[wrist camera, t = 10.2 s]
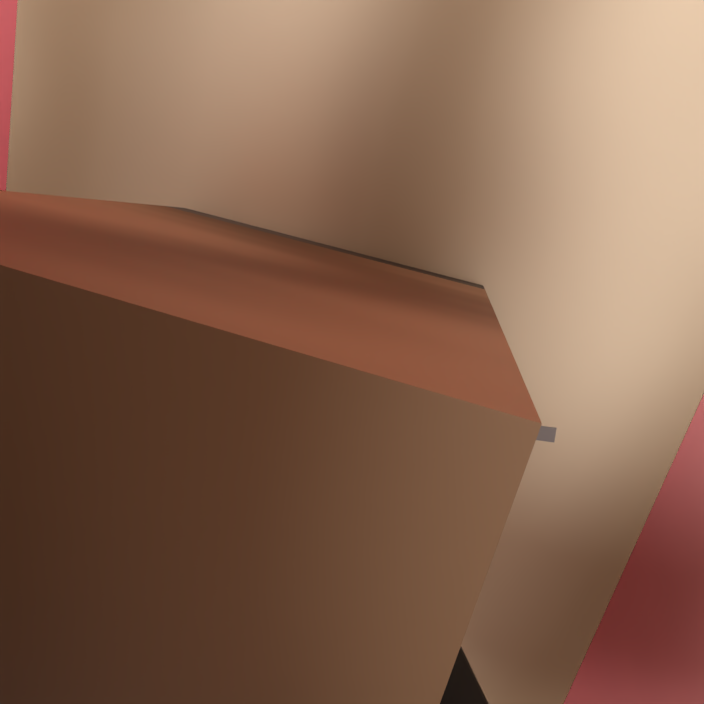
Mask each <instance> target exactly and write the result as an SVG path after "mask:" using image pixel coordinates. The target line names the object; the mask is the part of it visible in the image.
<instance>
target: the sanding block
mask: <svg viewBox="0 0 704 704" xmlns="http://www.w3.org/2000/svg"><path fill="white" fill-rule="evenodd" d="M541 425H542V423H541V420H540V418H539V416H538V413H537V411H536V408H535V406H534V404H533V401H532V399H531V397H530V394H529V392H528V390H527V387H526V385H525V383H524V380H523V378H522V375H521V373H520V371H519V368H518V366H517V364H516V361H515V359H514V357H513V354H512V352H511V350H510V347H509V345H508V342H507V340H506V338H505V335H504V333H503V331H502V328H501V326H500V324H499V321H498V319H497V317H496V314H495V312H494V310H493V307H492V305H491V302H490V300H489V298H488V295H487V293H486V291H485V288H484V286H483V285H480V284H476V283H472V282H468V281H464V280H460V279H457V278H453V277H449V276H445V275H441V274H437V273H433V272H430V271H426V270H422V269H418V268H414V267H410V266H407V265H403V264H399V263H395V262H391V261H387V260H383V259H380V258H376V257H372V256H368V255H364V254H360V253H356V252H353V251H349V250H345V249H341V248H337V247H333V246H330V245H326V244H322V243H318V242H314V241H310V240H306V239H303V238H299V237H295V236H291V235H287V234H283V233H280V232H276V231H272V230H268V229H264V228H260V227H256V226H253V225H249V224H245V223H241V222H237V221H233V220H229V219H226V218H222V217H218V216H214V215H210V214H206V213H203V212H199V211H195V210H191V209H187V208H181V207H170V206H160V205H149V204H139V203H128V202H118V201H107V200H97V199H86V198H75V197H65V196H54V195H44V194H33V193H23V192H12V191H2V190H0V704H440V702H441V699H442V696H443V694H444V691H445V688H446V685H447V683H448V680H449V677H450V674H451V672H452V669H453V666H454V663H455V661H456V658H457V655H458V652H459V650H460V647H461V644H462V641H463V639H464V636H465V633H466V630H467V628H468V625H469V622H470V619H471V617H472V614H473V611H474V609H475V606H476V603H477V600H478V598H479V595H480V592H481V589H482V587H483V584H484V581H485V578H486V576H487V573H488V570H489V567H490V565H491V562H492V559H493V556H494V554H495V551H496V548H497V545H498V543H499V540H500V537H501V534H502V532H503V529H504V526H505V523H506V521H507V518H508V515H509V512H510V510H511V507H512V504H513V501H514V499H515V496H516V493H517V490H518V488H519V485H520V482H521V480H522V477H523V474H524V471H525V469H526V466H527V463H528V460H529V458H530V455H531V452H532V449H533V447H534V444H535V441H536V438H537V436H538V433H539V430H540V427H541Z"/></svg>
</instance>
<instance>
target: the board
mask: <svg viewBox="0 0 704 704" xmlns="http://www.w3.org/2000/svg"><path fill="white" fill-rule="evenodd" d="M6 191H12V192H23V193H33V194H44V195H54V196H65V197H75V198H86V199H97V200H107V201H118V202H128V203H139V204H149V205H160V206H170V207H181V208H187V209H191V210H195V211H199V212H203V213H206V214H210V215H214V216H218V217H222V218H226V219H229V220H233V221H237V222H241V223H245V224H249V225H253V226H256V227H260V228H264V229H268V230H272V231H276V232H280V233H283V234H287V235H291V236H295V237H299V238H303V239H306V240H310V241H314V242H318V243H322V244H326V245H330V246H333V247H337V248H341V249H345V250H349V251H353V252H356V253H360V254H364V255H368V256H372V257H376V258H380V259H383V260H387V261H391V262H395V263H399V264H403V265H407V266H410V267H414V268H418V269H422V270H426V271H430V272H433V273H437V274H441V275H445V276H449V277H453V278H457V279H460V280H464V281H468V282H472V283H476V284H480V285H483V286H484V288H485V291H486V293H487V295H488V298H489V300H490V302H491V305H492V307H493V310H494V312H495V314H496V317H497V319H498V321H499V324H500V326H501V328H502V331H503V333H504V335H505V338H506V340H507V342H508V345H509V347H510V350H511V352H512V354H513V357H514V359H515V361H516V364H517V366H518V368H519V371H520V373H521V375H522V378H523V380H524V383H525V385H526V387H527V390H528V392H529V394H530V397H531V399H532V401H533V404H534V406H535V408H536V411H537V413H538V416H539V418H540V420H541V423H542V425H541V427H540V430H539V433H538V436H537V438H536V441H535V444H534V447H533V449H532V452H531V455H530V458H529V460H528V463H527V466H526V469H525V471H524V474H523V477H522V480H521V482H520V485H519V488H518V490H517V493H516V496H515V499H514V501H513V504H512V507H511V510H510V512H509V515H508V518H507V521H506V523H505V526H504V529H503V532H502V534H501V537H500V540H499V543H498V545H497V548H496V551H495V554H494V556H493V559H492V562H491V565H490V567H489V570H488V573H487V576H486V578H485V581H484V584H483V587H482V589H481V592H480V595H479V598H478V600H477V603H476V606H475V609H474V611H473V614H472V617H471V619H470V622H469V625H468V628H467V630H466V633H465V636H464V639H463V641H462V644H461V647H462V649H463V651H464V653H465V655H466V657H467V660H468V662H469V664H470V666H471V668H472V670H473V672H474V674H475V676H476V678H477V680H478V683H479V685H480V687H481V689H482V691H483V693H484V695H485V697H486V699H487V701H488V703H489V704H563V703H564V701H565V699H566V697H567V695H568V692H569V690H570V688H571V686H572V683H573V681H574V679H575V677H576V675H577V672H578V670H579V668H580V666H581V664H582V661H583V659H584V657H585V655H586V653H587V650H588V648H589V646H590V644H591V642H592V639H593V637H594V635H595V633H596V630H597V628H598V626H599V624H600V622H601V619H602V617H603V615H604V613H605V611H606V608H607V606H608V604H609V602H610V600H611V597H612V595H613V593H614V591H615V589H616V586H617V584H618V582H619V580H620V577H621V575H622V573H623V571H624V569H625V566H626V564H627V562H628V560H629V558H630V555H631V553H632V551H633V549H634V547H635V544H636V542H637V540H638V538H639V535H640V533H641V531H642V529H643V527H644V524H645V522H646V520H647V518H648V516H649V513H650V511H651V509H652V507H653V505H654V502H655V500H656V498H657V496H658V494H659V491H660V489H661V487H662V485H663V482H664V480H665V478H666V476H667V474H668V471H669V469H670V467H671V465H672V463H673V460H674V458H675V456H676V454H677V452H678V449H679V447H680V445H681V443H682V441H683V438H684V436H685V434H686V432H687V429H688V427H689V425H690V423H691V421H692V418H693V416H694V414H695V412H696V410H697V407H698V405H699V403H700V401H701V399H702V396H703V394H704V0H18V3H17V20H16V36H15V53H14V69H13V85H12V102H11V118H10V134H9V151H8V167H7V183H6Z"/></svg>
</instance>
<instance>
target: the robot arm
mask: <svg viewBox="0 0 704 704" xmlns="http://www.w3.org/2000/svg"><path fill="white" fill-rule="evenodd" d="M440 704H489V703H488V701H487V699H486V697H485V695H484V693H483V691H482V689H481V687H480V685H479V683H478V680H477V678H476V676H475V674H474V672H473V670H472V668H471V666H470V664H469V662H468V660H467V657H466V655H465V653H464V651H463V649H462V647H460V650H459V652H458V655H457V658H456V661H455V663H454V666H453V669H452V672H451V674H450V677H449V680H448V683H447V685H446V688H445V691H444V694H443V696H442V699H441V702H440Z"/></svg>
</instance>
